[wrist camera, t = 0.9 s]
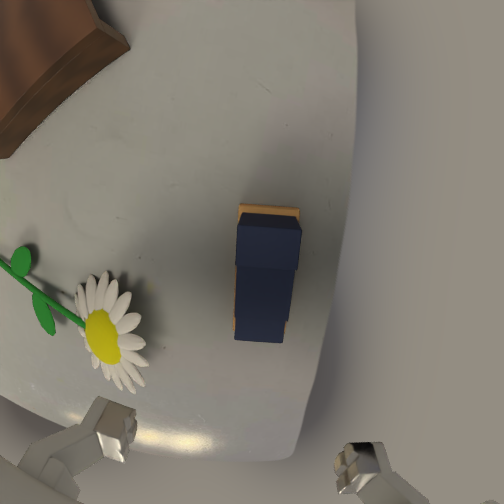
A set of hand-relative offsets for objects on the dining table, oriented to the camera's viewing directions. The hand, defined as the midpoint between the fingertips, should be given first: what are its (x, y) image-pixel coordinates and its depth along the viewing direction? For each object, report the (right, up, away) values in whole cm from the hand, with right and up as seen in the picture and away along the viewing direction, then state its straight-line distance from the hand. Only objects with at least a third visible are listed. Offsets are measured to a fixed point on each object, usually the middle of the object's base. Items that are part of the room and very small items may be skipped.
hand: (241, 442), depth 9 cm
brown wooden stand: (-24, +32, +10) cm, 41 cm away
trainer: (+1, +5, +18) cm, 19 cm away
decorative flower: (-23, +3, +20) cm, 30 cm away
